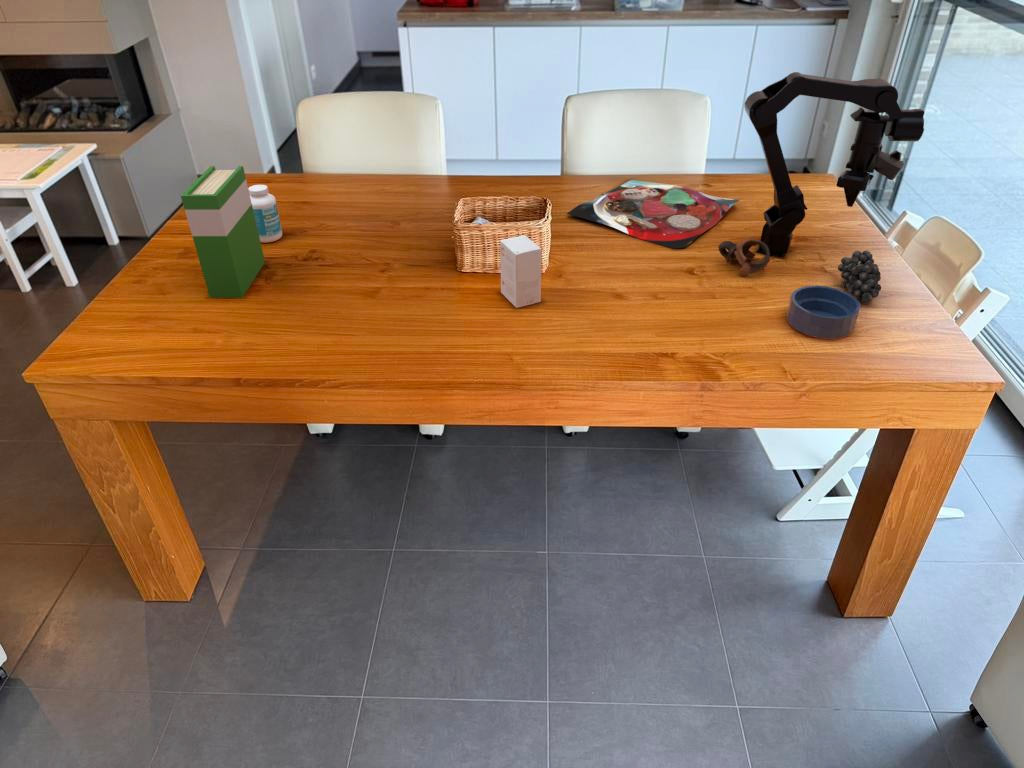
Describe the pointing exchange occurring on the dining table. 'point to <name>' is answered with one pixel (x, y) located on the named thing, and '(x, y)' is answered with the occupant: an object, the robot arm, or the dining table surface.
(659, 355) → the dining table surface
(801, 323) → the bowl
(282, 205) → the dining table surface
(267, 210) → the pill bottle
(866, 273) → the fruit
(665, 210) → the platter
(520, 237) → the small box
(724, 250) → the brown looped ring sculpture
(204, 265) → the hardback book
